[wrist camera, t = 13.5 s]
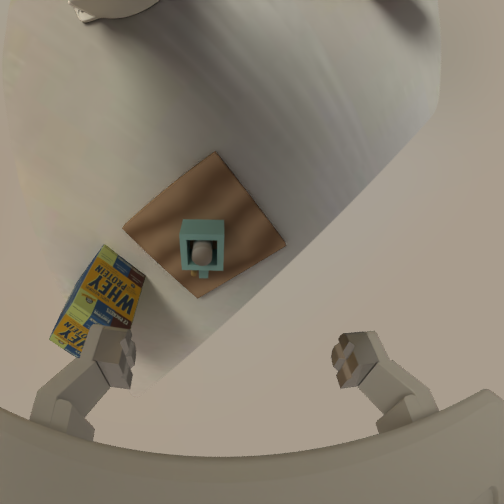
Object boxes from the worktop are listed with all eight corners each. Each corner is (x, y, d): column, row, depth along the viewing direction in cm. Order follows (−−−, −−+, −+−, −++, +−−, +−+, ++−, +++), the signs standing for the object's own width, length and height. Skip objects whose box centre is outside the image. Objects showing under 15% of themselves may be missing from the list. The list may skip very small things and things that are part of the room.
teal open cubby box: (182, 219, 43) (179, 234, 39) (224, 219, 44) (224, 234, 40) (186, 270, 49) (183, 287, 45) (222, 271, 49) (222, 288, 46)
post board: (124, 224, 43) (110, 248, 37) (215, 151, 38) (213, 164, 32) (198, 294, 54) (196, 321, 48) (284, 241, 49) (293, 266, 43)
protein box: (147, 274, 50) (129, 338, 37) (111, 311, 55) (93, 368, 42) (104, 242, 45) (72, 301, 32) (73, 285, 50) (47, 340, 37)
